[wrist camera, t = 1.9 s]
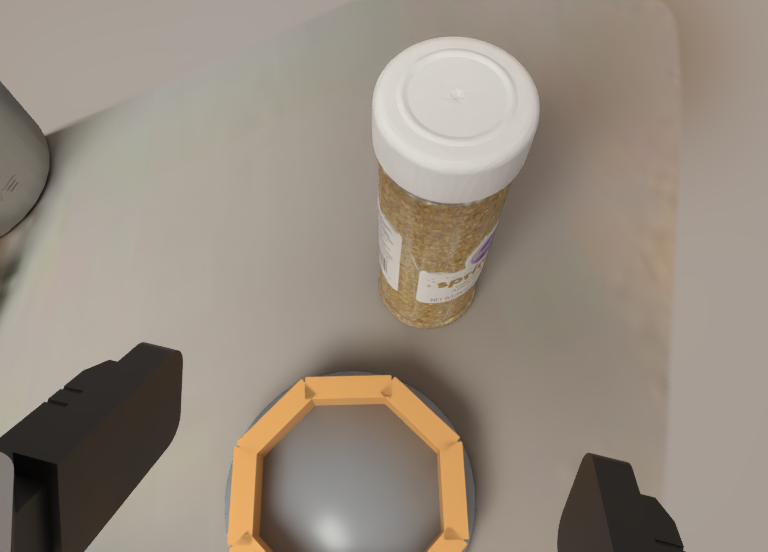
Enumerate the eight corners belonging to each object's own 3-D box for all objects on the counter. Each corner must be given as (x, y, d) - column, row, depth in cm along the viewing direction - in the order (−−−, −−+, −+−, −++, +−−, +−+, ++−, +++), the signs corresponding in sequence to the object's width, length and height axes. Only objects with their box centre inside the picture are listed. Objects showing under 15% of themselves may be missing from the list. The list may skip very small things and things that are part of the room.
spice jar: (460, 344, 27) (521, 189, 15) (364, 313, 28) (346, 140, 15) (485, 256, 29) (560, 51, 17) (394, 229, 30) (401, 11, 17)
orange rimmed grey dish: (177, 498, 25) (161, 496, 23) (350, 329, 28) (348, 314, 26) (351, 700, 22) (348, 716, 20) (523, 490, 25) (534, 487, 23)
